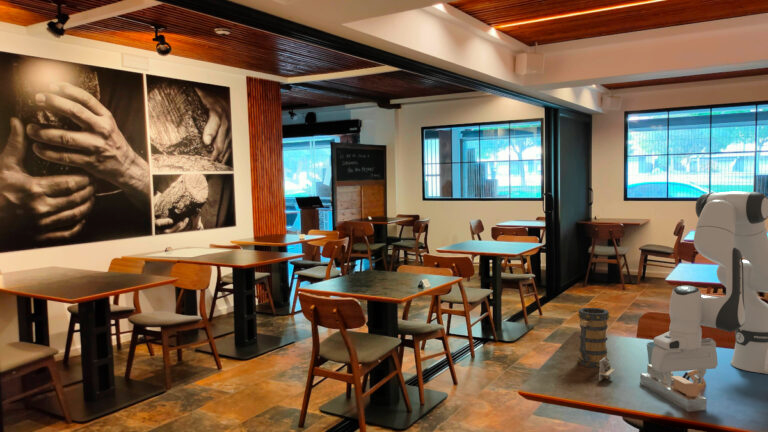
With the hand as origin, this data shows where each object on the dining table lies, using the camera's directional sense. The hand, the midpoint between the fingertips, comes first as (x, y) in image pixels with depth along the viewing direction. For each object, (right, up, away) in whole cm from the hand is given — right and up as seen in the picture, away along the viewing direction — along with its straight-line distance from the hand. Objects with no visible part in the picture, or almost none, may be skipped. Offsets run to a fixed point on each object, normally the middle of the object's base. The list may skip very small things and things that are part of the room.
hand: (684, 383), depth 178 cm
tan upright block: (0, -6, 0) cm, 6 cm away
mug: (-15, -4, +38) cm, 41 cm away
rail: (-1, -6, +6) cm, 9 cm away
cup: (+5, -5, +27) cm, 28 cm away
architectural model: (-16, -6, +22) cm, 28 cm away
